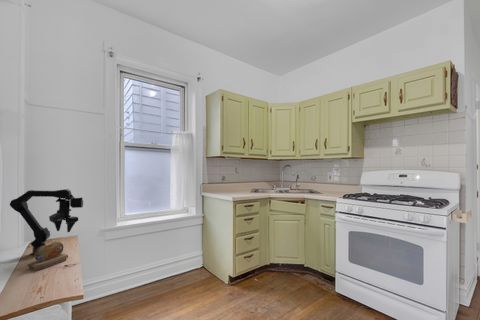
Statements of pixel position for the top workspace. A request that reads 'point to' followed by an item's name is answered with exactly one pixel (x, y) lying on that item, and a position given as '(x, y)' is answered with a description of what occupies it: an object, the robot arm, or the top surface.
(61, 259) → the stand
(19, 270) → the top surface
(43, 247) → the tin
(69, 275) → the top surface
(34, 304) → the top surface
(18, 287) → the top surface
